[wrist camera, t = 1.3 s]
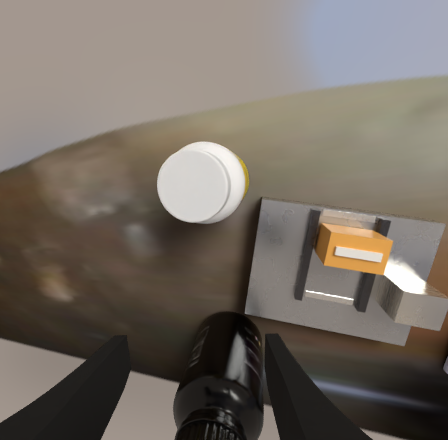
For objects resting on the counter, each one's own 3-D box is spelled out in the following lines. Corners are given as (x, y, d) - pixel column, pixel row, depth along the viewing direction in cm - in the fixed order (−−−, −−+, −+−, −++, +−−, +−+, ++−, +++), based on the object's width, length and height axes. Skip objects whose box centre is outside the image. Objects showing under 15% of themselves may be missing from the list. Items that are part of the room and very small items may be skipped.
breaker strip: (428, 218, 20) (481, 234, 15) (392, 330, 22) (427, 375, 17) (262, 196, 22) (262, 203, 17) (246, 302, 24) (241, 335, 19)
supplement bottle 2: (216, 371, 26) (180, 526, 15) (190, 319, 26) (129, 442, 14) (273, 355, 25) (283, 516, 13) (247, 300, 24) (232, 420, 12)
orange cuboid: (373, 230, 19) (395, 242, 15) (365, 259, 19) (384, 276, 16) (321, 222, 19) (332, 232, 16) (314, 251, 20) (324, 266, 17)
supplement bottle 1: (233, 218, 23) (212, 253, 13) (184, 192, 23) (129, 207, 13) (260, 167, 21) (259, 163, 12) (208, 140, 21) (164, 115, 12)
